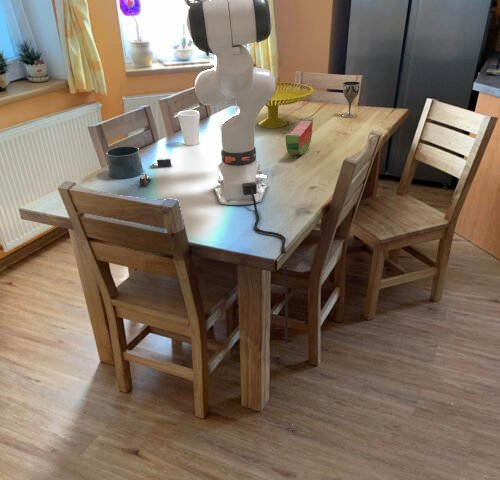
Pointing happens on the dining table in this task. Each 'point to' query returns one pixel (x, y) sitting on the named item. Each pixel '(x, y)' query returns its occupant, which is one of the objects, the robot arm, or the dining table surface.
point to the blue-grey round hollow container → (124, 162)
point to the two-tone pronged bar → (162, 163)
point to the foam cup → (189, 126)
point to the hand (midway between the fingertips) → (229, 58)
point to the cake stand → (283, 103)
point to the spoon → (144, 180)
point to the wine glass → (350, 94)
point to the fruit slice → (299, 137)
